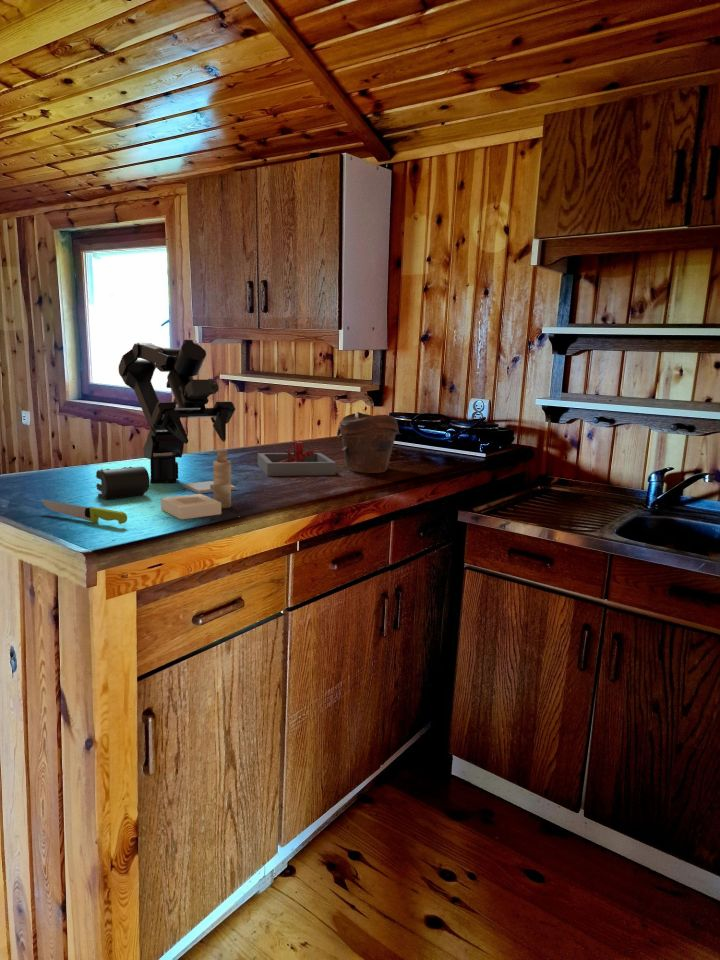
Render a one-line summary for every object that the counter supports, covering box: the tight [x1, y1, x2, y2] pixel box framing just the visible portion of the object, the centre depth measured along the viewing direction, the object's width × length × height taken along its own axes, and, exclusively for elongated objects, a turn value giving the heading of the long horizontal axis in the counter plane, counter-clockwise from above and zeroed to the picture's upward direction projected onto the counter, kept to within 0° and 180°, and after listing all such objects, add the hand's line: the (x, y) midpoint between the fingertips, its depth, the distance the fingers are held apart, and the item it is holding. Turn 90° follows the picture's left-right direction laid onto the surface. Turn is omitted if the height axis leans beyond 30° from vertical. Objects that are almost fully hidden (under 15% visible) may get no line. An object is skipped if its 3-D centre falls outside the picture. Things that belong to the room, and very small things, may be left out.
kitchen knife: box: [40, 499, 128, 525], centre depth 123 cm, size 22×1×3 cm, turn 66°
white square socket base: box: [160, 493, 222, 520], centre depth 133 cm, size 10×9×2 cm
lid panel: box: [182, 480, 237, 494], centre depth 157 cm, size 9×10×2 cm
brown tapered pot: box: [336, 411, 400, 474], centre depth 193 cm, size 18×20×18 cm
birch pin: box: [212, 449, 232, 509], centre depth 138 cm, size 4×4×12 cm
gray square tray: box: [257, 452, 337, 477], centre depth 188 cm, size 20×19×4 cm
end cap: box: [95, 466, 151, 500], centre depth 144 cm, size 10×7×7 cm
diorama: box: [280, 439, 315, 462], centre depth 188 cm, size 11×12×8 cm
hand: (206, 441), depth 143 cm, fingers open, 9 cm apart
